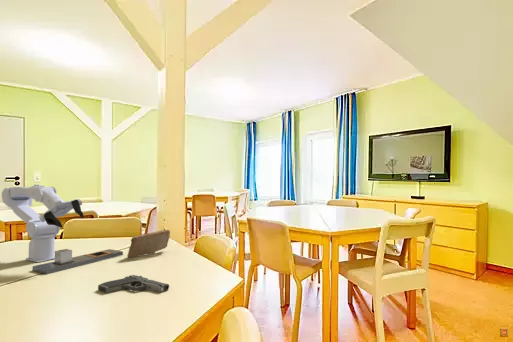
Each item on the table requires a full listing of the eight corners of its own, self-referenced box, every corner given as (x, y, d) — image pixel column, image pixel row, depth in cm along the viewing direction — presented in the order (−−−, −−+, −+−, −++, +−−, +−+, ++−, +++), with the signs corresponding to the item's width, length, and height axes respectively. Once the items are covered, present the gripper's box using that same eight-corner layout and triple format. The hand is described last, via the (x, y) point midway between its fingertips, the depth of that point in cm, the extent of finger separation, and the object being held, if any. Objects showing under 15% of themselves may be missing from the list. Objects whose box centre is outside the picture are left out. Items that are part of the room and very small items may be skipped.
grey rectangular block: (54, 267, 109) (54, 250, 109) (65, 264, 112) (66, 248, 113) (60, 268, 107) (60, 251, 107) (71, 266, 111) (72, 249, 111)
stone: (125, 257, 123) (129, 261, 120) (125, 236, 122) (129, 238, 119) (166, 247, 136) (170, 250, 133) (167, 227, 135) (171, 230, 132)
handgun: (134, 296, 77) (170, 281, 87) (98, 283, 86) (134, 272, 96) (134, 305, 77) (170, 290, 87) (98, 292, 86) (134, 279, 96)
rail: (32, 270, 105) (32, 265, 105) (109, 252, 131) (109, 248, 131) (45, 274, 101) (46, 269, 101) (122, 254, 127) (122, 250, 127)
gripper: (30, 204, 110) (47, 221, 103) (71, 188, 120) (88, 202, 113) (36, 218, 113) (52, 236, 107) (75, 201, 123) (92, 216, 117)
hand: (71, 220), depth 110 cm, fingers open, 7 cm apart
